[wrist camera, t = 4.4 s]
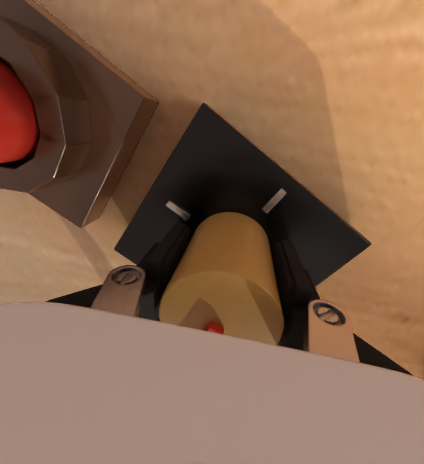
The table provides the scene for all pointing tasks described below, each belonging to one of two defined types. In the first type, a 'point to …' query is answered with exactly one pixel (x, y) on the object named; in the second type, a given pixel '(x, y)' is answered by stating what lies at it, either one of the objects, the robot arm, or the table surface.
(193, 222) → the dimmer
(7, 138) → the power button
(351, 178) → the table surface
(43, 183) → the switch box
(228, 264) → the dimmer knob
